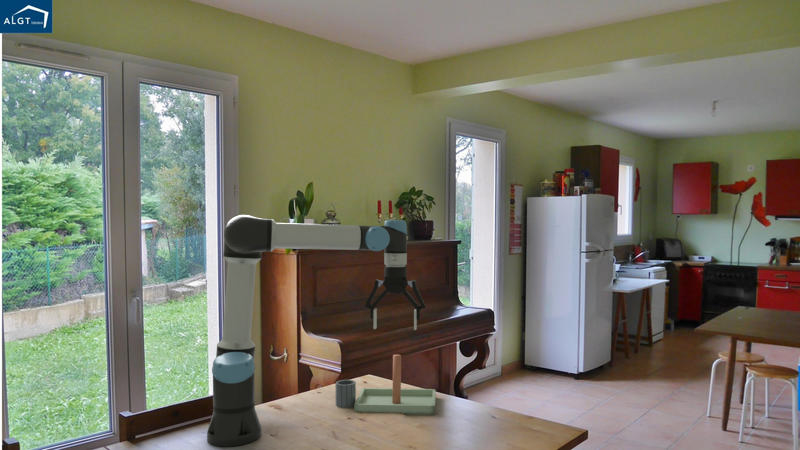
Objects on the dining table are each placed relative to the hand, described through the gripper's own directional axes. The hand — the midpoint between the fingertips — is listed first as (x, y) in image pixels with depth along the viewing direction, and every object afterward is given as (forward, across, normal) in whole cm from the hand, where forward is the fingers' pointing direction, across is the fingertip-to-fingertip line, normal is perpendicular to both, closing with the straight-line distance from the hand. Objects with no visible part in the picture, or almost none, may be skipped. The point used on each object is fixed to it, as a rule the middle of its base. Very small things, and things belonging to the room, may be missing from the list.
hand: (395, 328), depth 193 cm
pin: (+25, +1, 0) cm, 25 cm away
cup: (+26, -16, -2) cm, 31 cm away
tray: (+26, +1, 0) cm, 26 cm away
